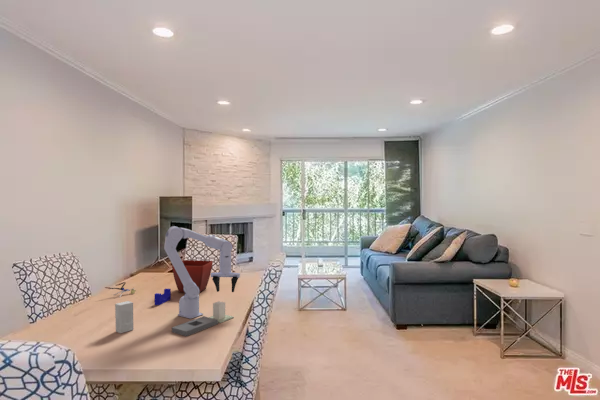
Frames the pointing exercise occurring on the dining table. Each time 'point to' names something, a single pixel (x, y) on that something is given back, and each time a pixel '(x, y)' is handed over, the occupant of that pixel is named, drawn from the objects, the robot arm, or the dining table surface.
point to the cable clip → (162, 297)
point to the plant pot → (195, 273)
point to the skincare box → (124, 316)
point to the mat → (223, 318)
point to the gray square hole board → (190, 326)
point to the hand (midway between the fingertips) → (225, 291)
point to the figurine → (122, 289)
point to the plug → (219, 310)
